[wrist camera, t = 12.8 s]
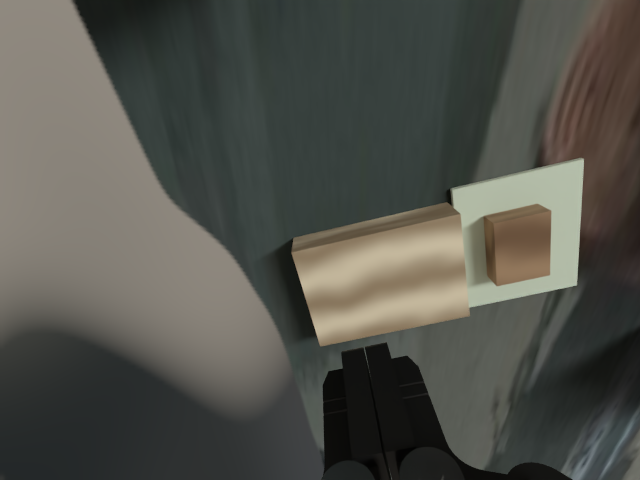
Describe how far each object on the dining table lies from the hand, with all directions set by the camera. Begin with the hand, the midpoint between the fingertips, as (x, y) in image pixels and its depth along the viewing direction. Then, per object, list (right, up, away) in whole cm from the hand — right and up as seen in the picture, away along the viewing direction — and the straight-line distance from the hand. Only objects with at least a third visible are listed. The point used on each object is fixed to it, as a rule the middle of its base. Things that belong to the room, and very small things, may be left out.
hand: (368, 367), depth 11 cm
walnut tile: (+21, +4, +28) cm, 35 cm away
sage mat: (+22, +4, +30) cm, 37 cm away
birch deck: (+6, +1, +31) cm, 32 cm away
